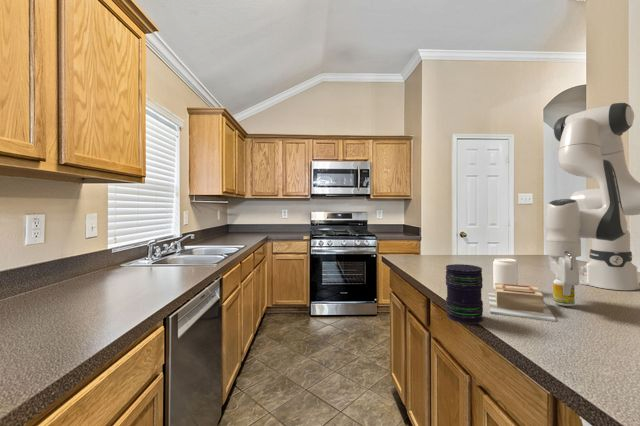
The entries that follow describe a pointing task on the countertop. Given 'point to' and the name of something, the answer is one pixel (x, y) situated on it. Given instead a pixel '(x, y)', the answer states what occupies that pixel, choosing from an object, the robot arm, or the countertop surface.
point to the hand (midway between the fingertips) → (563, 292)
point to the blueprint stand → (519, 302)
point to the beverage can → (505, 271)
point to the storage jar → (464, 293)
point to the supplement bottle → (559, 296)
